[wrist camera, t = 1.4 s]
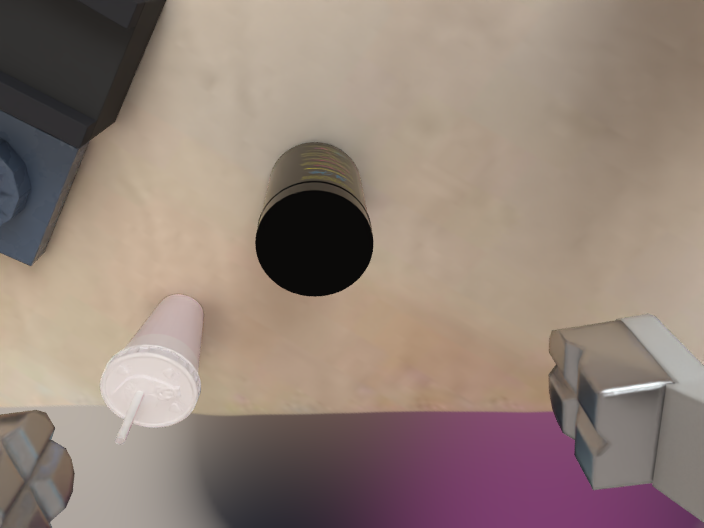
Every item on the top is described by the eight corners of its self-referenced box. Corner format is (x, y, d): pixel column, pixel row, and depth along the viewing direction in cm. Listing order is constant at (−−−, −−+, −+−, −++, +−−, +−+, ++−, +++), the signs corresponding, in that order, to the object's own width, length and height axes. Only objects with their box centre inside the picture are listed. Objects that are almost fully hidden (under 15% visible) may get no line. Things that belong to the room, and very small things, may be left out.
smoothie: (133, 279, 45) (61, 399, 32) (216, 278, 45) (177, 396, 32) (146, 347, 47) (85, 481, 35) (224, 345, 48) (191, 477, 35)
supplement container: (263, 142, 40) (246, 194, 31) (359, 135, 40) (371, 185, 31) (274, 230, 43) (263, 301, 34) (363, 223, 43) (376, 292, 34)
